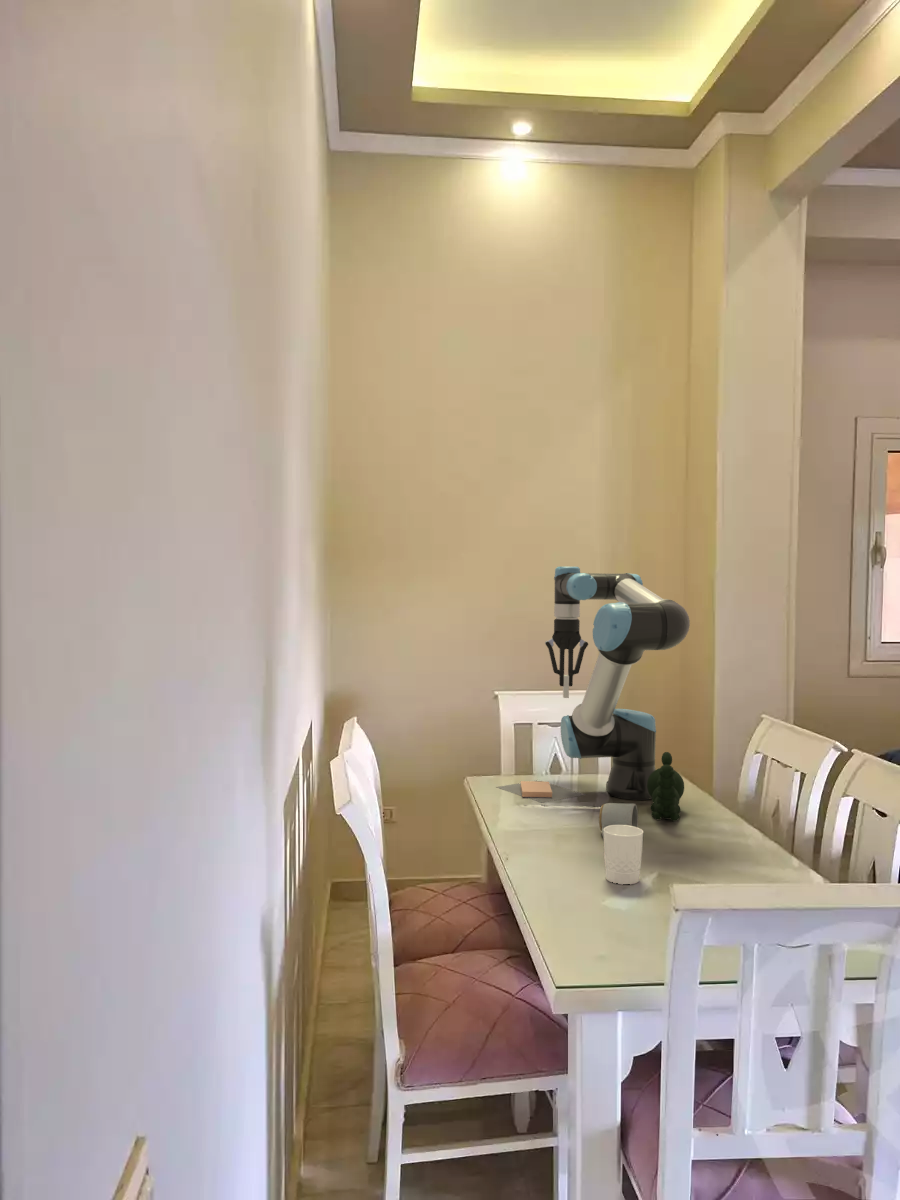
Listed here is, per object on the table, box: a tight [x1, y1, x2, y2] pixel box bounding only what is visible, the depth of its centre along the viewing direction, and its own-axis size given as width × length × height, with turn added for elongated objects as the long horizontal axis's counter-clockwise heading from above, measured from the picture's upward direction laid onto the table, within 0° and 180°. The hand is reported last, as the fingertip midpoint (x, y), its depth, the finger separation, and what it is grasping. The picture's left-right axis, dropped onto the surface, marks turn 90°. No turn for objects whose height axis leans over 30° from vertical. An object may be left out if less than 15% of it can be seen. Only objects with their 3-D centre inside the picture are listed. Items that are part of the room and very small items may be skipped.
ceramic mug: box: [598, 802, 639, 839], centre depth 210 cm, size 11×8×8 cm
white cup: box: [603, 825, 644, 885], centre depth 181 cm, size 8×8×10 cm
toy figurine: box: [647, 751, 685, 822], centre depth 228 cm, size 9×19×25 cm
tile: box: [519, 780, 552, 798], centre depth 248 cm, size 2×8×12 cm
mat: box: [495, 779, 587, 804], centre depth 249 cm, size 20×16×1 cm
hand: (565, 697), depth 267 cm, fingers closed
